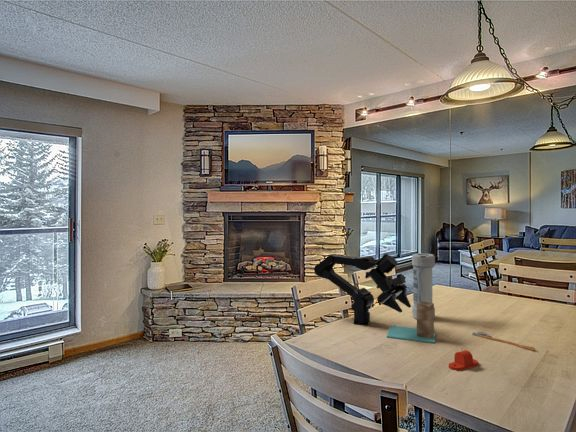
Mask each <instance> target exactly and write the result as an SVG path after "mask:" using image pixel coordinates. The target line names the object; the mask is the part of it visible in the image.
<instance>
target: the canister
mask: <svg viewBox="0 0 576 432" xmlns="http://www.w3.org/2000/svg"><path fill="white" fill-rule="evenodd" d="M411 258H412V259H411V265H412V267H413V269H412V275H413V276H412V279H413V281H412V287H413V288H412V290H413V291H412V298H413V299H412V300H413V305H411V308H412V312H411V314H412V317H413V319H416V320H417V303H419V302H421V301H423V302H429V303H433V269H434V267H435V266H436V263H435V262H436V257H435V254H432V253H420V252H419V253H412V256H411ZM435 316H436V309H435V307H434V319H435V318H436V317H435Z"/></svg>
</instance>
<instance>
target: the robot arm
mask: <svg viewBox="0 0 576 432" xmlns="http://www.w3.org/2000/svg"><path fill="white" fill-rule="evenodd" d="M336 264H337V265H338V264H339V265H346V266H353V267H355V268H356V269H360V270H362V271H366V272H365V279H369V278H370V279H371V280H372V281H373V282H374V284H375V285H376V286H375V287H376V289H380V291H381V293H380V294H379V295H378V296H377V297H376V299H377V302H378V303H379V304H380V305H381V304H382V305H384V306H386V307H388V308H389V309H393V311H394V310H395V311H396V312H398V313H403V309H402V308H401V306H400V305H399V303H398V302H397V301H399V302H400V303H401V304H402V305H404V306H406V308H409V309H410V308H412V305H411V303H410V301H409V298H408V296H407V291H408V289H407V288H408V287H407V285H406V283H407V281H406V279H407V278H406V276H405V275H403V274H402V273H399V274H397V275H396V277H395V278H392V277H390V276H387V275H386V274H389V273H390V272H391V271H393V269H395V268H396V267H397V266H398V261H397V260H396V258H394V257H392V256H391V255H389V254H388V253H383V255H382V257H381V258H380V259H375V258H374V257H373V256H371V255H367V256H366V255H365V256H351V255H350V256H349V255H342V254H336V253H332V254H329V255H327V256H326V257H325V258H324V259H323V260H321V261H320V262H318V263H317V264H315V266H314V268H313V270H314V274H315V275H316V276H318V277H320V278H322V279H326V280H328V281H329V282H331V283H333V284H334V285H335V286H336V287H338V288H339V289H341V291H343V292H345V293H346V294H348V296H350V297H351V299H352V301H353V303H352V304H351V305H350V306H351V311H353V322H352V324H354V325H363V326H368V325H369V324H370V323H371V312H370V310H369V309H371V307H372V305H373V304H374V302H375V298H374V295H373V294H372V291H369V290H368V289H366V288H365V287H362V288H357V287H356V286H354V285H353V284H352V283H351V282H349V281H348V280H346V279H345V278H344V277H342V276H341V275H339V273H336V272H335V270H334V266H335V265H336ZM367 270H369V271H367ZM396 300H397V301H396Z"/></svg>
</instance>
